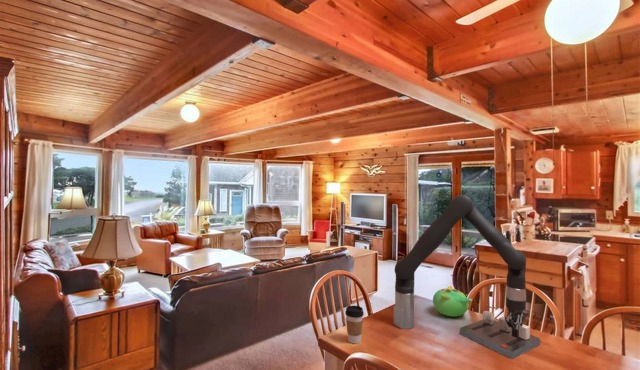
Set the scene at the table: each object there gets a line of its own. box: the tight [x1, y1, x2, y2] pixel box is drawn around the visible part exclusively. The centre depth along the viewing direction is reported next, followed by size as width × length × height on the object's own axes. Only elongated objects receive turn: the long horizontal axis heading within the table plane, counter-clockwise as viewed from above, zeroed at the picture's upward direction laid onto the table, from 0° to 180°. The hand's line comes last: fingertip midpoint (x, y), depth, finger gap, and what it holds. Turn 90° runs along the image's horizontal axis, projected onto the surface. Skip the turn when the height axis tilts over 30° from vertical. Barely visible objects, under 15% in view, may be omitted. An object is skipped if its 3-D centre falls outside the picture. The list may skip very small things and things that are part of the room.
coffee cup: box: [344, 305, 365, 344], centre depth 142 cm, size 8×8×15 cm
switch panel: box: [459, 310, 541, 360], centre depth 143 cm, size 22×24×8 cm
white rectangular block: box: [519, 324, 531, 340], centre depth 138 cm, size 3×4×5 cm
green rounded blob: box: [432, 285, 473, 317], centre depth 169 cm, size 18×17×15 cm
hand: (515, 336), depth 136 cm, fingers closed
